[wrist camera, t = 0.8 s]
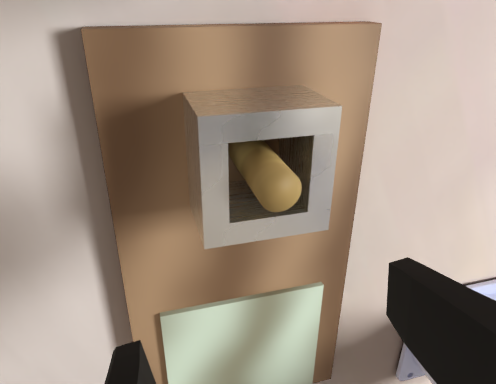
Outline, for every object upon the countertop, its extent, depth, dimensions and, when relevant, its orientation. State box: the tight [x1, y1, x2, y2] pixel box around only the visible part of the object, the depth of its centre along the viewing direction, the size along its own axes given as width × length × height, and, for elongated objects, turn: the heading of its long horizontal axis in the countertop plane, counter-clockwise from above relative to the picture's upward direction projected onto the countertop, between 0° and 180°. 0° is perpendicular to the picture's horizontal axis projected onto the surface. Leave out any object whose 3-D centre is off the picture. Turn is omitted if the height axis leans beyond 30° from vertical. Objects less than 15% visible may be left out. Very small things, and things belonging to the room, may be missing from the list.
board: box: [81, 22, 382, 384], centre depth 19 cm, size 12×22×6 cm, turn 0°
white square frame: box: [183, 85, 342, 249], centre depth 17 cm, size 5×5×4 cm
